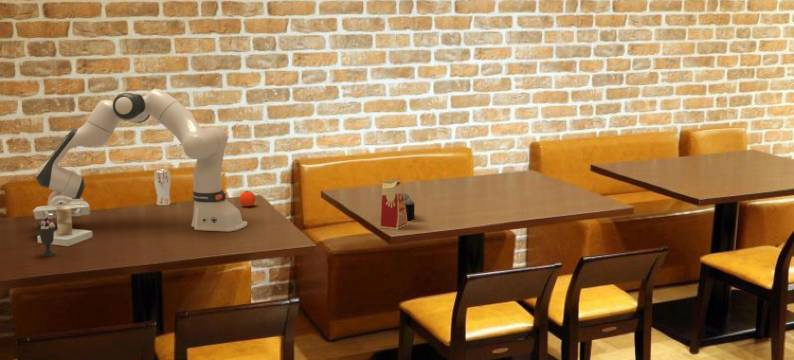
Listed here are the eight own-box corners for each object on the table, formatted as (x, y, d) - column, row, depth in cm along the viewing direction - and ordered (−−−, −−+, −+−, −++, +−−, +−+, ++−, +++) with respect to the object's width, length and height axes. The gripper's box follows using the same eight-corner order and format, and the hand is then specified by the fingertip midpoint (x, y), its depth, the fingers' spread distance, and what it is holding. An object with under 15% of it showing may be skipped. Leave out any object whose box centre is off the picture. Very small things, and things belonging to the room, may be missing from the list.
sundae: (62, 252, 344) (59, 212, 341) (49, 257, 337) (46, 216, 334) (47, 251, 346) (44, 210, 343) (34, 255, 339) (31, 215, 336)
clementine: (237, 205, 418) (236, 189, 416) (252, 203, 421) (252, 188, 419) (242, 209, 411) (241, 192, 409) (257, 207, 414) (257, 191, 412)
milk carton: (407, 225, 382) (407, 176, 378) (397, 230, 374) (397, 180, 370) (387, 222, 386) (386, 174, 382) (377, 228, 378) (376, 178, 374)
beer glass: (167, 206, 416) (165, 172, 414) (152, 205, 418) (151, 171, 415) (174, 202, 423) (172, 169, 420) (159, 201, 425) (158, 168, 422)
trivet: (92, 237, 365) (92, 230, 364) (67, 246, 352) (67, 239, 351) (63, 233, 370) (63, 227, 369) (37, 242, 357) (37, 236, 356)
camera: (422, 220, 391) (422, 196, 389) (408, 222, 387) (408, 198, 385) (402, 213, 403) (402, 190, 401) (388, 215, 399) (388, 191, 397)
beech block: (71, 231, 364) (69, 205, 362) (72, 234, 359) (70, 208, 357) (57, 232, 362) (55, 207, 360) (58, 235, 357) (56, 209, 355)
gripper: (31, 202, 367) (33, 209, 354) (87, 197, 375) (90, 204, 362) (33, 218, 368) (34, 226, 355) (88, 213, 376) (91, 221, 363)
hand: (63, 215), depth 359 cm, fingers open, 8 cm apart
